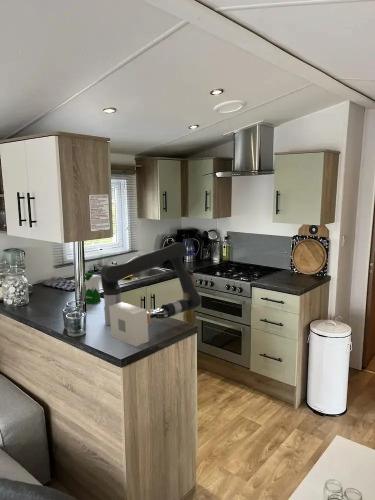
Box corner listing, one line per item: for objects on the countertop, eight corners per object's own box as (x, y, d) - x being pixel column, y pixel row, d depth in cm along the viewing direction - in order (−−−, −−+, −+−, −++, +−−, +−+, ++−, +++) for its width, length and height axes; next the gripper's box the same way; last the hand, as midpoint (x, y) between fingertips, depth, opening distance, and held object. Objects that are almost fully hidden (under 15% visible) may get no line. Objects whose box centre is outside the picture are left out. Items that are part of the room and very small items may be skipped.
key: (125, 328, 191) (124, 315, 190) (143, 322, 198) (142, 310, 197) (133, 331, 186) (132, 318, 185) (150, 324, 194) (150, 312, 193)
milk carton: (83, 303, 253) (81, 273, 250) (92, 299, 261) (90, 271, 258) (94, 304, 249) (92, 274, 246) (103, 300, 257) (100, 271, 254)
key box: (111, 336, 193) (109, 305, 191) (124, 331, 199) (122, 302, 196) (135, 346, 179) (133, 313, 177) (148, 341, 185) (146, 309, 182)
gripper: (163, 300, 212) (138, 307, 200) (179, 304, 202) (154, 312, 190) (163, 313, 213) (138, 321, 201) (180, 318, 204) (155, 327, 192)
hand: (146, 317), depth 196 cm, fingers closed
